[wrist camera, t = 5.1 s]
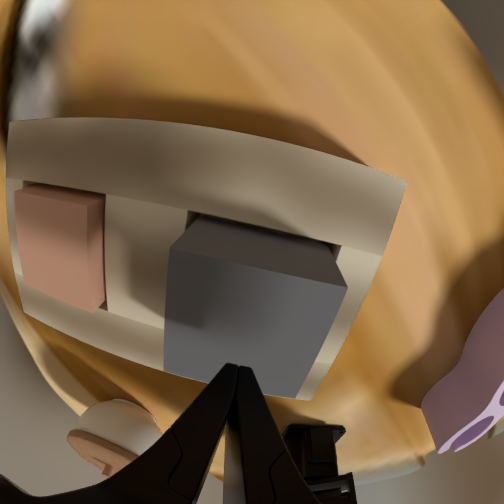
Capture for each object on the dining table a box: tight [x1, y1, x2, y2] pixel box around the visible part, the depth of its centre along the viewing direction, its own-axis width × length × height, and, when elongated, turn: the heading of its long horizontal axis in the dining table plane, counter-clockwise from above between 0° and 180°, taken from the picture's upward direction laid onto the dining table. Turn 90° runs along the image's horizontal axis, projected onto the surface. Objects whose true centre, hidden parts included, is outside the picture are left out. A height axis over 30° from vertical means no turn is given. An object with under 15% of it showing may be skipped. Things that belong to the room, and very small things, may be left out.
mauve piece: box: [421, 288, 504, 454], centre depth 16 cm, size 20×12×7 cm, turn 155°
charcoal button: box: [163, 216, 348, 399], centre depth 12 cm, size 6×6×4 cm
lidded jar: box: [67, 398, 163, 478], centre depth 21 cm, size 11×11×9 cm
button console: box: [6, 117, 407, 401], centre depth 15 cm, size 14×22×4 cm, turn 78°
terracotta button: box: [14, 183, 107, 313], centre depth 14 cm, size 6×6×4 cm
